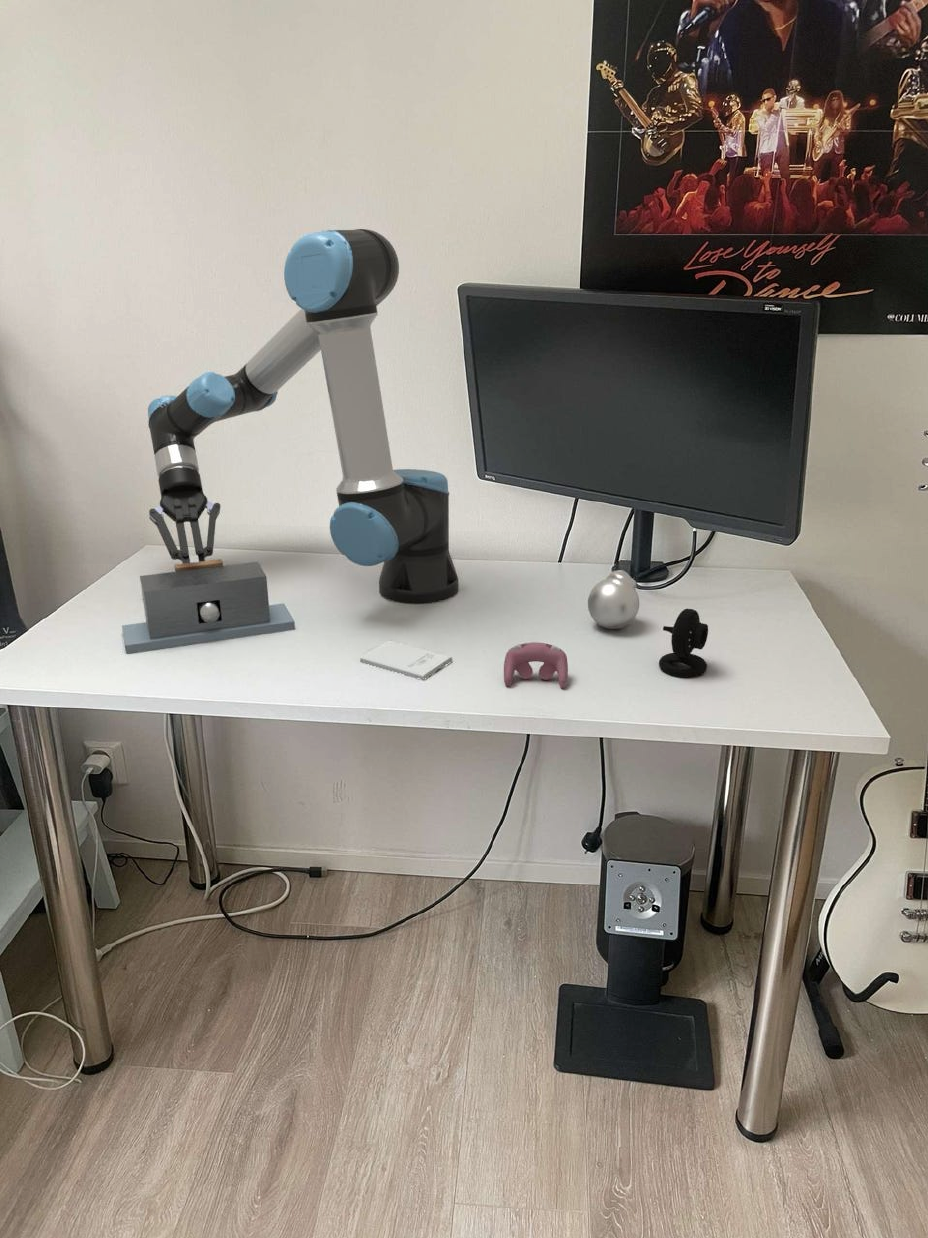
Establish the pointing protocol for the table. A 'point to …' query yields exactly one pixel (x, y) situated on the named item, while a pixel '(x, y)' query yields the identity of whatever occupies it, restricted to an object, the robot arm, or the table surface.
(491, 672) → the table surface
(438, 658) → the external hard drive
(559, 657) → the video game controller
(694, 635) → the webcam
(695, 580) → the table surface
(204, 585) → the housing
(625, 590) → the silver bulbous ornament
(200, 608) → the brown wooden block
